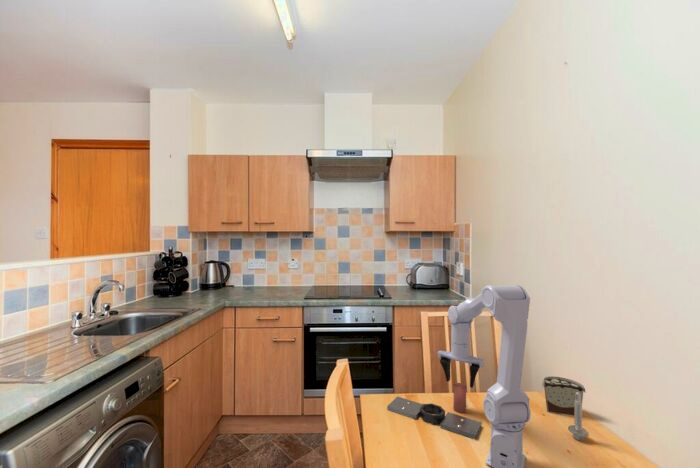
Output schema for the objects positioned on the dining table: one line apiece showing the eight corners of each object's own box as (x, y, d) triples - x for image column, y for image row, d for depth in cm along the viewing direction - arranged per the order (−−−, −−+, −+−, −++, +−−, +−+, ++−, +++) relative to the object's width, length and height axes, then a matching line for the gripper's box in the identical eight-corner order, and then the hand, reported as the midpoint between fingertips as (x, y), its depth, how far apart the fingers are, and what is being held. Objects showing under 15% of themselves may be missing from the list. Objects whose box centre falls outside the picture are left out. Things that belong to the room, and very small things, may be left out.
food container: (577, 408, 105) (577, 378, 106) (586, 417, 100) (585, 386, 100) (536, 402, 109) (536, 373, 109) (542, 411, 103) (542, 381, 103)
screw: (569, 440, 88) (566, 431, 92) (590, 445, 85) (587, 436, 90) (569, 393, 88) (566, 386, 92) (590, 397, 86) (586, 390, 90)
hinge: (475, 439, 87) (475, 430, 87) (387, 409, 102) (387, 401, 102) (481, 426, 94) (481, 417, 94) (397, 399, 109) (397, 392, 109)
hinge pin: (464, 414, 100) (464, 389, 100) (452, 410, 102) (452, 386, 103) (467, 409, 103) (467, 384, 104) (455, 405, 106) (455, 381, 106)
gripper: (485, 343, 103) (485, 384, 103) (442, 335, 111) (441, 374, 111) (481, 349, 97) (481, 392, 97) (435, 340, 105) (435, 381, 105)
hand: (459, 383), depth 103 cm, fingers open, 7 cm apart
